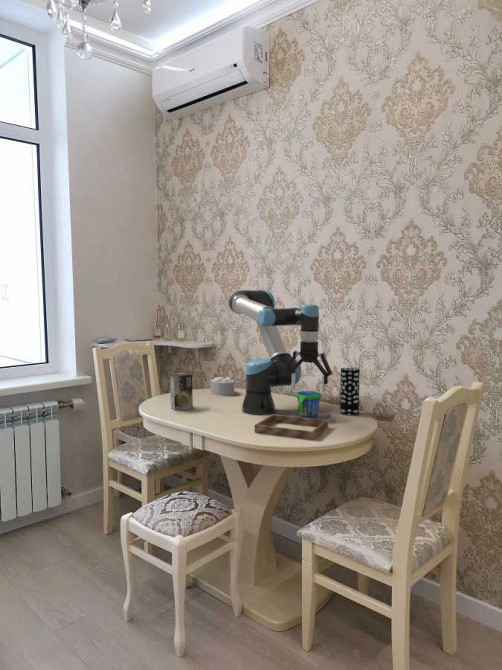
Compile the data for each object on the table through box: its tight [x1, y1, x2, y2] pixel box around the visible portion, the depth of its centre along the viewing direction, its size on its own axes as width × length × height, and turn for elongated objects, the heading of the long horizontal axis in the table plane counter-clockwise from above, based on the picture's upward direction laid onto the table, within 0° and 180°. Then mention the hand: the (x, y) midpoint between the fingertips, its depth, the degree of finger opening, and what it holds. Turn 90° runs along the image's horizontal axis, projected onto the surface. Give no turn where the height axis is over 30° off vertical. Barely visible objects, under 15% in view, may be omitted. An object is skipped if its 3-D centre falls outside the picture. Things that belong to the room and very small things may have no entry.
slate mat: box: [290, 410, 331, 420], centre depth 224 cm, size 15×15×1 cm
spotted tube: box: [339, 367, 361, 416], centre depth 232 cm, size 8×8×20 cm
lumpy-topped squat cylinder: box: [210, 376, 235, 397], centre depth 275 cm, size 10×13×9 cm
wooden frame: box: [254, 413, 329, 441], centre depth 205 cm, size 24×19×3 cm
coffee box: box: [169, 372, 194, 411], centre depth 242 cm, size 9×6×16 cm
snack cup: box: [295, 390, 322, 418], centre depth 224 cm, size 16×10×10 cm
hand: (308, 389), depth 224 cm, fingers open, 13 cm apart
